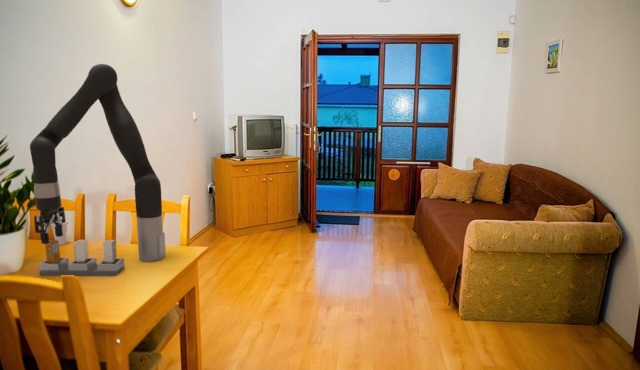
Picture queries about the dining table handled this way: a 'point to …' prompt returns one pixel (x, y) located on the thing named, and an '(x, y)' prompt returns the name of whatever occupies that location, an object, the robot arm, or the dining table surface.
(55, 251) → the supplement box
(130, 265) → the dining table surface
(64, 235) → the smoothie
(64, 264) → the rail
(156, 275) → the dining table surface
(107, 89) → the robot arm
